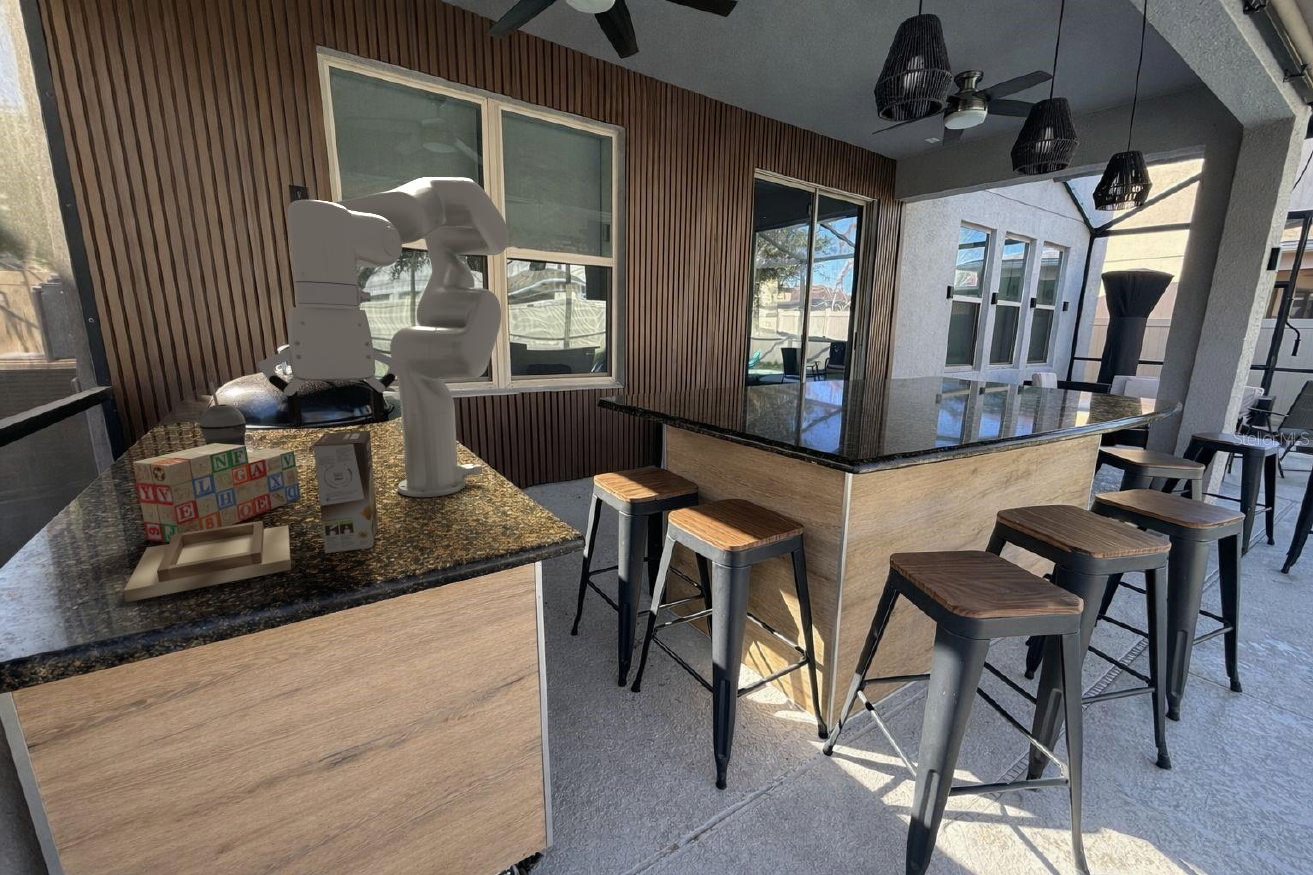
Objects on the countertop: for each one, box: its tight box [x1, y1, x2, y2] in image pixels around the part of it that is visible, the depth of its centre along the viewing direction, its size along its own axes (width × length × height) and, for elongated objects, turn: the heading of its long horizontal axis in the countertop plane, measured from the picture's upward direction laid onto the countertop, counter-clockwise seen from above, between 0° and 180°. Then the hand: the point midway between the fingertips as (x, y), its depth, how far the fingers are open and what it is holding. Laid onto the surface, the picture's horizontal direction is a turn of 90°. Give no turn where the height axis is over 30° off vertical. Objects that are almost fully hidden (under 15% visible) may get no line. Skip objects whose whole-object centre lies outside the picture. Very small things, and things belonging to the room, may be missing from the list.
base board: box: [123, 520, 292, 603], centre depth 72 cm, size 16×14×3 cm
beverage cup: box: [198, 381, 248, 446], centre depth 105 cm, size 7×7×20 cm
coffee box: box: [312, 430, 379, 554], centre depth 80 cm, size 9×6×16 cm
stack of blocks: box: [132, 443, 301, 543], centre depth 87 cm, size 21×6×12 cm, turn 169°
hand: (338, 420), depth 77 cm, fingers open, 9 cm apart
